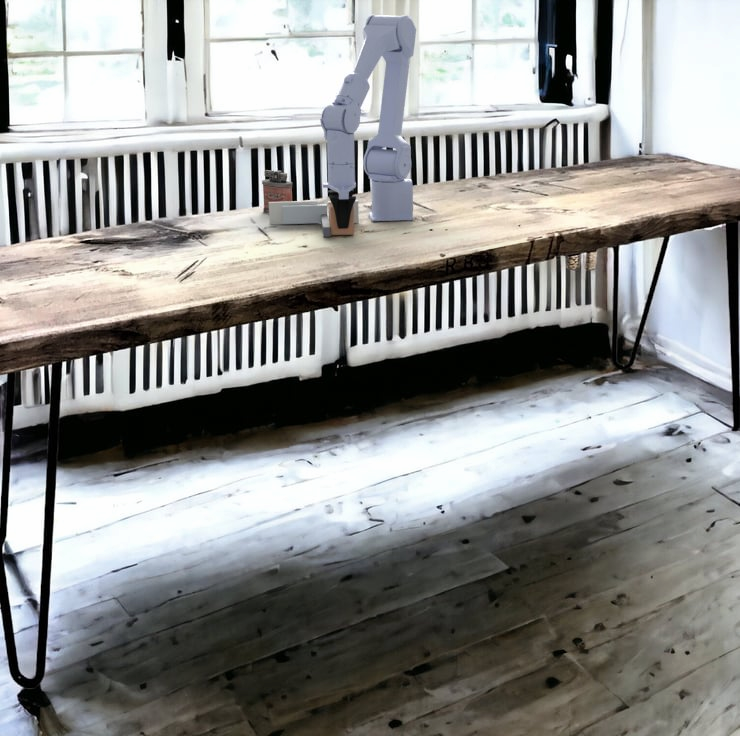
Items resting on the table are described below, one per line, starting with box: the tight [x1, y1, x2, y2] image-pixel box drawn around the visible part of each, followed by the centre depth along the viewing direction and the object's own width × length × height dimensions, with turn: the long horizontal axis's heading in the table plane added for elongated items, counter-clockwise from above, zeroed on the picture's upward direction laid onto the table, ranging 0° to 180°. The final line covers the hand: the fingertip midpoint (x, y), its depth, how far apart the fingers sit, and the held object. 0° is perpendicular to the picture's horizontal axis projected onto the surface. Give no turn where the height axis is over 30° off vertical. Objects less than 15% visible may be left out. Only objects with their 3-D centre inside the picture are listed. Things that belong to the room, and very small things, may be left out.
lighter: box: [261, 169, 293, 215], centre depth 241 cm, size 8×3×10 cm, turn 58°
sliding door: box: [282, 203, 331, 237], centre depth 226 cm, size 10×14×4 cm
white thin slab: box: [268, 199, 360, 225], centre depth 232 cm, size 20×2×5 cm, turn 95°
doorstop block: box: [328, 203, 355, 236], centre depth 223 cm, size 5×4×6 cm
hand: (342, 225), depth 223 cm, fingers closed on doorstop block, 4 cm apart
